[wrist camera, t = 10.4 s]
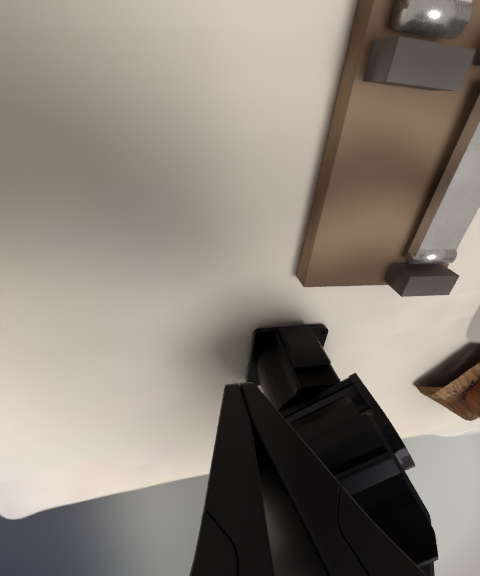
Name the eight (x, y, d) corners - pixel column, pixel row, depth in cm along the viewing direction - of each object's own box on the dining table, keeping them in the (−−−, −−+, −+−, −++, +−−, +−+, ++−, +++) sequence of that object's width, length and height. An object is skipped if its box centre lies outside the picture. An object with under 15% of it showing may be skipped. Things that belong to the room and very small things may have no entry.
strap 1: (436, 257, 23) (450, 267, 22) (401, 257, 22) (413, 268, 21) (525, 86, 17) (550, 87, 16) (481, 79, 16) (504, 80, 15)
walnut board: (425, 273, 26) (463, 301, 23) (296, 276, 23) (317, 308, 20) (731, -360, 11) (957, -537, 8) (478, -533, 9) (660, -887, 6)
